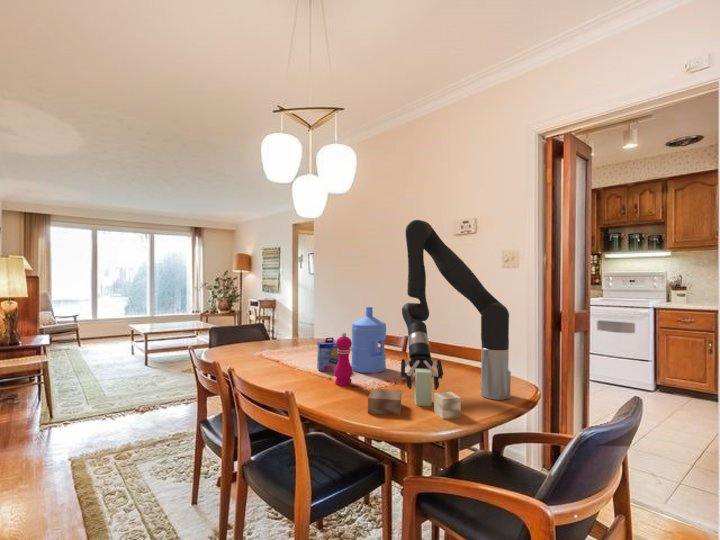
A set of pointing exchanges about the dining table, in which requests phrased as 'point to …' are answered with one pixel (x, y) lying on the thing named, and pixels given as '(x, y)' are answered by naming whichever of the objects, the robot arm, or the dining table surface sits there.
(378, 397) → the walnut block
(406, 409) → the dining table surface
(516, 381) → the dining table surface
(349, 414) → the dining table surface
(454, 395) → the maple cube
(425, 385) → the sage block
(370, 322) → the water jug
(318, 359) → the ink cartridge box
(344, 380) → the pepper mill
